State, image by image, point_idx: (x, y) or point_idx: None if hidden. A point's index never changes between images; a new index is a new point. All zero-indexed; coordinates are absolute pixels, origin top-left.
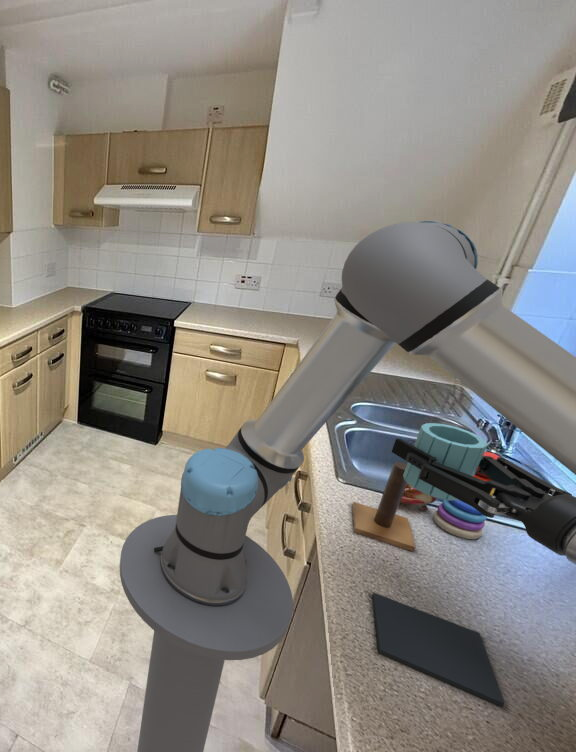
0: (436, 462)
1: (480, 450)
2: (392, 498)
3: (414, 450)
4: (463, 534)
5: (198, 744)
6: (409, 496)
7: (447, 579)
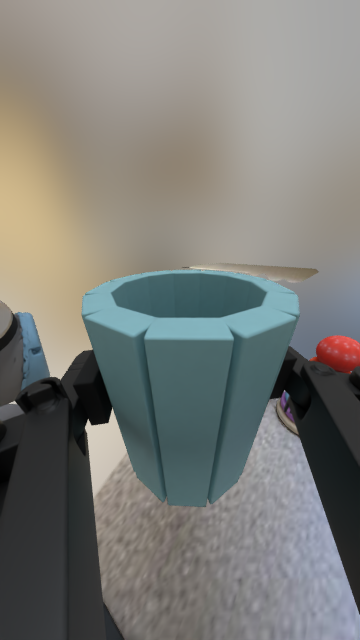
0: (66, 403)
1: (235, 355)
2: None
3: None
4: None
5: None
6: None
7: (254, 535)
